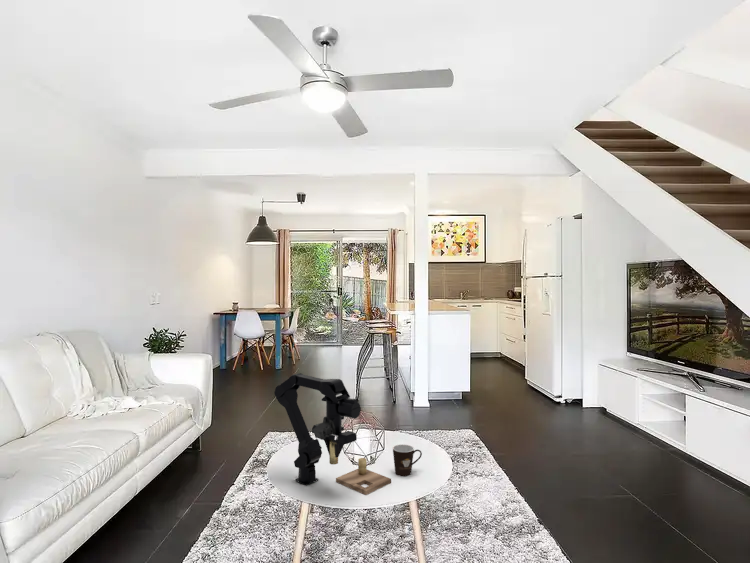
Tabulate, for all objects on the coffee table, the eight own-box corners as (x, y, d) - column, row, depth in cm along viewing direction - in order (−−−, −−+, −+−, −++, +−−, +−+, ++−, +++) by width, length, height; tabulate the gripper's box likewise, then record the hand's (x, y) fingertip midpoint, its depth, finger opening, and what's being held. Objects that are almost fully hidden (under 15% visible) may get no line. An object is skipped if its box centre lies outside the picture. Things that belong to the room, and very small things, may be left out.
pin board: (335, 481, 178) (336, 463, 178) (361, 470, 188) (361, 453, 188) (366, 495, 167) (366, 475, 167) (391, 482, 178) (391, 464, 178)
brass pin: (327, 462, 171) (327, 441, 171) (334, 460, 174) (334, 439, 174) (333, 465, 169) (333, 443, 169) (339, 462, 172) (339, 441, 172)
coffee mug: (391, 476, 183) (391, 451, 183) (393, 468, 191) (393, 443, 191) (420, 478, 181) (421, 453, 181) (421, 469, 190) (421, 445, 190)
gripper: (300, 413, 172) (300, 455, 172) (335, 424, 159) (335, 469, 159) (323, 407, 180) (323, 447, 180) (357, 417, 168) (357, 460, 168)
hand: (333, 455), depth 172 cm, fingers closed on brass pin, 3 cm apart
